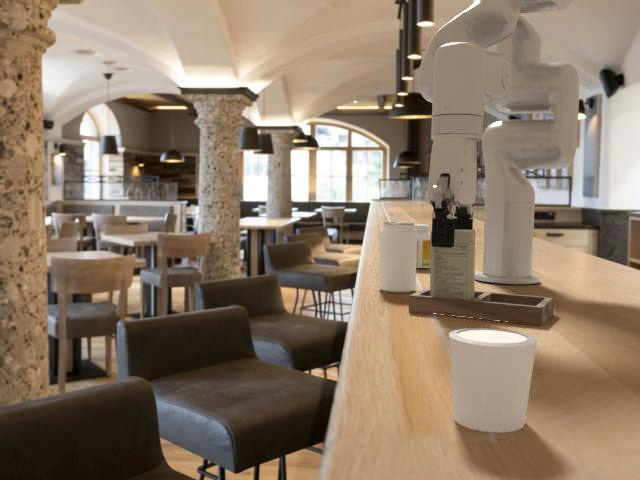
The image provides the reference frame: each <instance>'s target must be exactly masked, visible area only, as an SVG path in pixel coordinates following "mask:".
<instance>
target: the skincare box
mask: <svg viewBox="0 0 640 480" xmlns="http://www.w3.org/2000/svg"><path fill="white" fill-rule="evenodd" d="M475 232H476V230H475V229H473V230H455V235H454V247H452V248H444V247H433V246H432V245H431V240H432V230H429V235H430V268H429V269H430V270H429V272H430V273H429V277H430V278H429V279H430V280H429V281H430V282H429V285H430V286H429V287H430V296H434V297H445V298H455V299H466V300H472V299H474V291H475V284H476V282H475V280H476V279H475V273H476V272H475V270H476V269H475V267H476V266H475V265H476V263H475V261H476V254H475V253H476V233H475Z"/></svg>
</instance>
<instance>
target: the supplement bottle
mask: <svg viewBox="0 0 640 480" xmlns="http://www.w3.org/2000/svg"><path fill="white" fill-rule="evenodd" d="M415 228H416V231H417V260H416V268H427V269H430V233H429V232H430V225H429V224H418V223H417V224H416V223H415Z"/></svg>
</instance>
